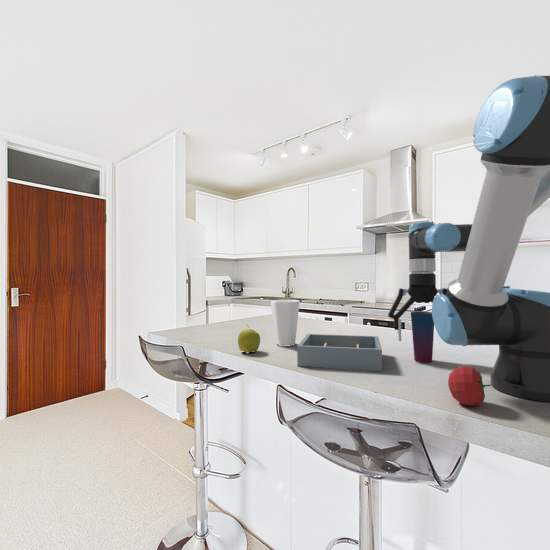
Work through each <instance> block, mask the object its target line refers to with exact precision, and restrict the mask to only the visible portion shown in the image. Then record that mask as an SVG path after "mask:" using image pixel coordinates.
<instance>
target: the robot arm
mask: <svg viewBox="0 0 550 550" xmlns="http://www.w3.org/2000/svg"><path fill="white" fill-rule="evenodd" d="M472 132H473V133H472V136H473V137H474V138H473V146H474V148H475V149H476V151H478V152H481V156H480V160H479V161H480V162H481V164H482V165H483V166H484V168H485V170H486V172H485V176H484V180H483V184H482V186H481V187H482V188H481V191H480V195H479V198H478V199H479V200H478V202H477V206H476V210H475V214H474V217H473V220H472V223H469V224H467V223H464V224H462V223H461V224H454V223H450V222H442V223H441V222H439V223H436V224H435V223H434V222H432V221H419V222H413V223H410V225H409V227H408V234H407V237H408V261H409V262H408V263H409V264H408V266H409V267H408V271H409V272H410V273H409V275H408V278H409V279H408V281H409V283H408V286H409V287H408V289H406V288H402V287H399V288H398V291H397V292H398V293H397V296H396V298H395V300H394V302H393V304H392V305H391V308H390V309H389V311H388V313H387V317H388V318H391V319H393V327H394V330H395V331H397V340H398V342H402V320H401V317H402V316H403V315H404V314H405V313H406V311H407V310H408V309H409V308H410V307H411V306H412V305H413V304H414V303H417V304H421V303H424V304H429V303H431V312H432V317H433V322H434V329H435V331H436V332H437V334H438V336H439V337H440V339H441V341H443V342H444V343H446V344H448V345H451V346H461V347H467V346H498V355H497V358H496V360H495V363H494V365H493V368H492V371H491V373H490V385H491V387H493V388H494V389H495V390H498V391H500V392H502V393H504V394H506V395H509V396H510V395H511V396H513V397H517V398H521V399H526V400H532V401H537V402H538V401H539V402H548V403H549V402H550V292H547V291H539V290H532V289H522V288H521V289H520V288H509V287H507V288H506V287H504V286H505V283H506V280H507V278H508V275H509V272H510V269H511V267H512V264H513V261H514V257H515V255H516V252H517V249H518V246H519V243H520V240H521V237H522V234H523V232H524V228H525V225H526V222H527V220H528V218H529V217H530V216H531V215H532V214H533V213H534V212H535V211H536V210H538V208H540V207H541V206H542V205H543V204H544V203H546V201H548V200H549V198H550V75H534V76H533V75H531V76H523V77H515V78H511V79H509V80H507V81H504V82H502V83H501V84H500V85H499V86H497V87H496V88H495V89H494V90H493V91H492V92H491V94H490V95H488V97H487V98H486V100H485V101H484V102H483V104H482V105H481V106H480V110H479V112H478V114H477V117H476V119H475V122H474V126H473V131H472ZM443 252H444V253H447V252H449V253H450V252H453V253H454V252H464V255H463V258H462V261H461V266H460V270H459V273H458V276H457V278H456V279H454V280H451V281H450V282H449V283H448V285H447V288H445V287H442V288H438V289H437V287H436V285H437V281H436V279H437V278H436V277H437V275H436V273H434V272H436V268H437V266H436V264H437V263H436V262H437V261H436V253H443ZM406 294H408V296H410V297H409V298H408V300H407V301H406V302H405V303H404V304H403V305H402V306H401V307H400V309H399V310H398V311H397V312H396V310H397V309H398V307H399V305H400V303H401V301H402V300H403V297H405V296H406ZM437 294H438V295H437ZM395 312H396V313H395Z"/></svg>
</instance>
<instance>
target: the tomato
mask: <svg viewBox="0 0 550 550" xmlns="http://www.w3.org/2000/svg"><path fill="white" fill-rule="evenodd" d="M447 385H448V389H449V392H450V393H451V395H452V398H453V399H455V400H456V401H457V402H459V403H460V404H462V405H463V406H469V407H475V406H479V405H481V404H482V403H483V402H484V401H485V397H486V393H485V388H486V387H492V385H491V384H483V377H482V374H481V372H480V371H478V370H477V369H475V368H474V367H472V366H468V365H462V366H458V367H456V368H455V369H453V370H452V371H451V372H450V373H449V374H448V380H447Z"/></svg>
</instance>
